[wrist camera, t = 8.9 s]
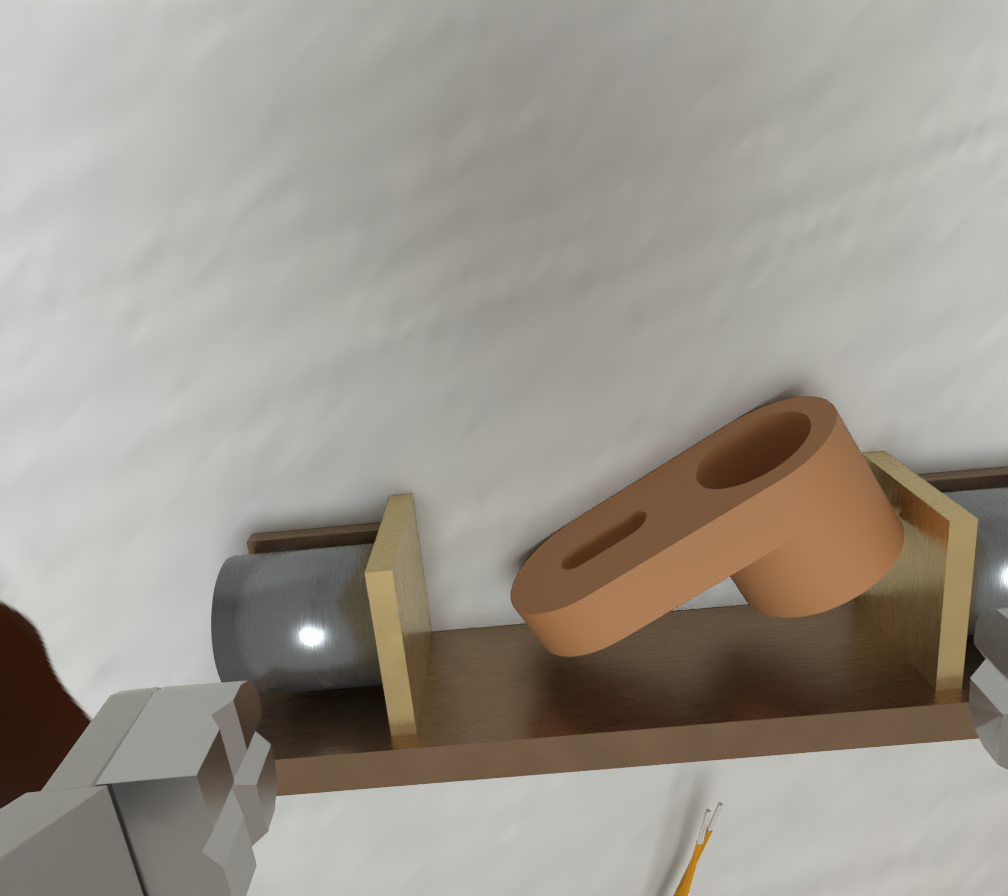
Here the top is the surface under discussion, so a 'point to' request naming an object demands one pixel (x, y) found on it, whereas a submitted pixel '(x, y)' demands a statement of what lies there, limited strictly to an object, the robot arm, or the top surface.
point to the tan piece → (719, 532)
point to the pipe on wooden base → (601, 658)
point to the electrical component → (697, 851)
